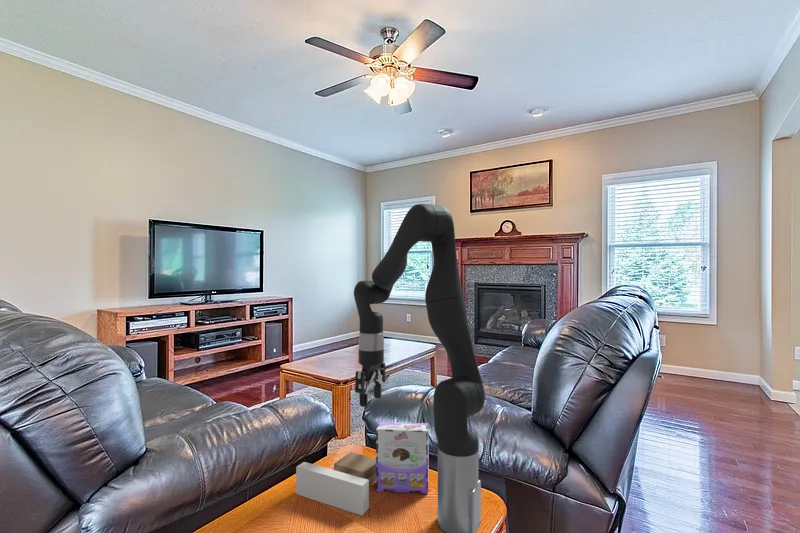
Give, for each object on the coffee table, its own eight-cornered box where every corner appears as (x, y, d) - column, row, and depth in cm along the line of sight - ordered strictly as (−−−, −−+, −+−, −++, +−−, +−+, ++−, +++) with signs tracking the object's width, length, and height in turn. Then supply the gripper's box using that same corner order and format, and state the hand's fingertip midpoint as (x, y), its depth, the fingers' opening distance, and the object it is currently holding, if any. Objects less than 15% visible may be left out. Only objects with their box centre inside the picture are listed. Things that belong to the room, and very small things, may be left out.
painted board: (368, 508, 97) (368, 479, 97) (362, 515, 94) (362, 485, 94) (303, 488, 105) (304, 461, 106) (296, 493, 103) (296, 466, 103)
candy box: (428, 482, 109) (429, 422, 109) (428, 495, 103) (428, 431, 103) (378, 479, 110) (379, 420, 110) (375, 491, 104) (375, 428, 104)
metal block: (380, 477, 112) (380, 459, 112) (364, 491, 104) (364, 472, 105) (350, 469, 116) (350, 452, 116) (333, 481, 109) (333, 463, 109)
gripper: (370, 353, 111) (370, 411, 111) (393, 344, 124) (392, 397, 124) (347, 350, 114) (347, 407, 114) (371, 342, 127) (371, 393, 127)
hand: (370, 401), depth 119 cm, fingers open, 8 cm apart
